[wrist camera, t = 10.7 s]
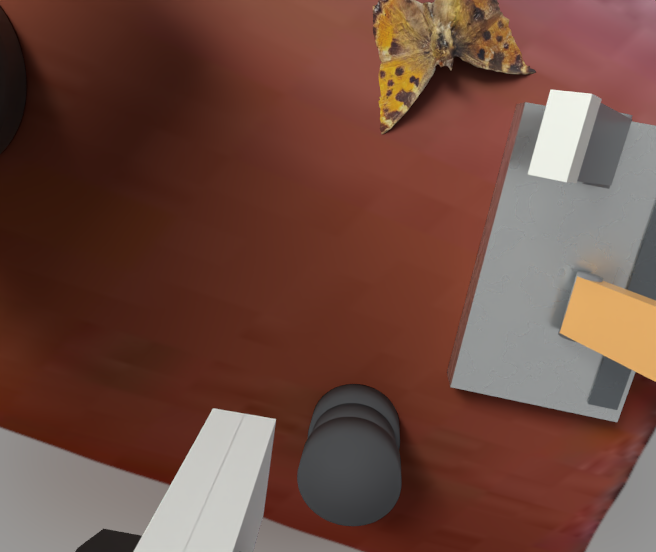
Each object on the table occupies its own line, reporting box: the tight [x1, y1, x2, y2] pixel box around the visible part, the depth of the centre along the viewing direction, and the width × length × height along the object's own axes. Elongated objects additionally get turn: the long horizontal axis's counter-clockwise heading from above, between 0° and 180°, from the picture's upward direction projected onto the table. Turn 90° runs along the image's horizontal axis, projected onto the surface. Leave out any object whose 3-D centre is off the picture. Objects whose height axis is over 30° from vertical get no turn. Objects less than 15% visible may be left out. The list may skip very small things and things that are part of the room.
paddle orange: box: [558, 271, 656, 382], centre depth 33 cm, size 2×4×10 cm
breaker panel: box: [447, 102, 656, 422], centre depth 38 cm, size 12×20×3 cm, turn 170°
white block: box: [528, 90, 632, 189], centre depth 31 cm, size 2×4×10 cm
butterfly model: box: [373, 0, 536, 134], centre depth 36 cm, size 9×12×3 cm
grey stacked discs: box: [297, 384, 401, 526], centre depth 41 cm, size 7×7×8 cm
